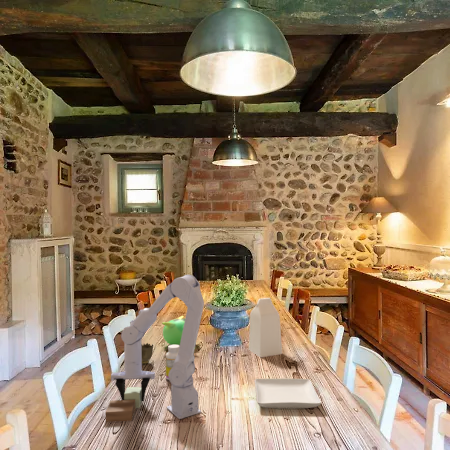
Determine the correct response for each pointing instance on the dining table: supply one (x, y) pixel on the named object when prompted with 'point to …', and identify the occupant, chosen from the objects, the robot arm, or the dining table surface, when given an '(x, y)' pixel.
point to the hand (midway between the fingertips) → (133, 400)
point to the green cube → (133, 395)
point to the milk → (265, 329)
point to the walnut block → (120, 410)
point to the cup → (146, 353)
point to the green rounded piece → (173, 330)
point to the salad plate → (286, 393)
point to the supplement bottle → (171, 358)
